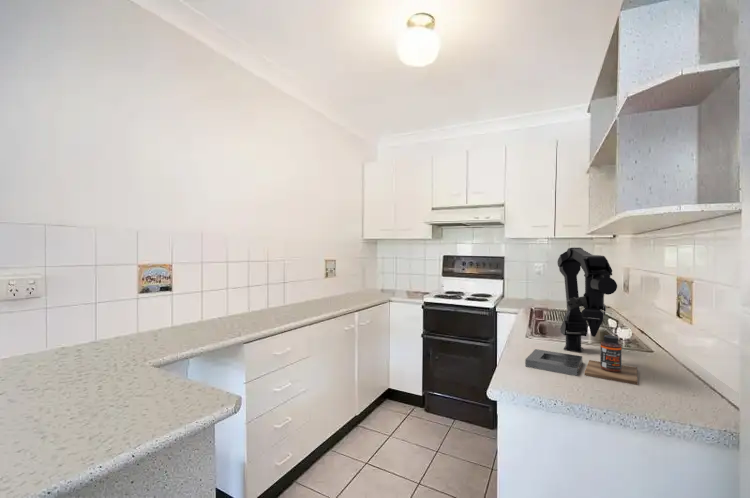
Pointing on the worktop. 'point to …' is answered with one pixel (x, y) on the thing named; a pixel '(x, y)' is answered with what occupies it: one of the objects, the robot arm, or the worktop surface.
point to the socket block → (554, 362)
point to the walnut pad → (612, 373)
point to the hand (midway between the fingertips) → (594, 333)
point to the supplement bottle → (611, 354)
